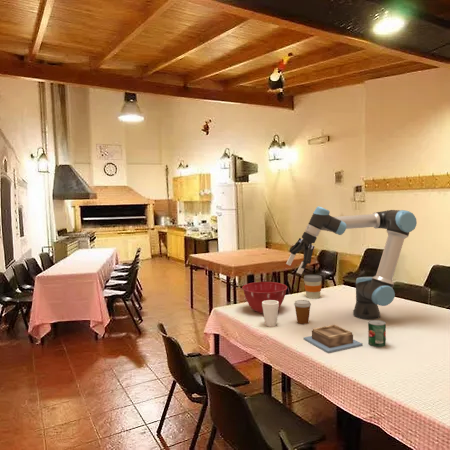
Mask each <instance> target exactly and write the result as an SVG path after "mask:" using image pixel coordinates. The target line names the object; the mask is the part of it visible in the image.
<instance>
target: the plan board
mask: <svg viewBox="0 0 450 450" xmlns="http://www.w3.org/2000/svg"><path fill="white" fill-rule="evenodd" d="M303 340H304V341H306V342H307V343H308V344H310V345H312V346H315V347H316V348H318V349H320V350H322V351H324V352H325V353H326V354H331V353H335V352H340V351H345V350H348V349H354V348H358V347H363V346H364V345H363V343H362V342H360V341H358V340H355V339H354V338H353V343H350V344H345V345H340V346H336V347H331V348H329V347H327V346H325V345H323V344H321V343H320V342H318V341H316V340H314V339H312V335H310V336H304V337H303Z"/></svg>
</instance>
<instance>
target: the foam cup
mask: <svg viewBox="0 0 450 450" xmlns="http://www.w3.org/2000/svg"><path fill="white" fill-rule="evenodd" d="M262 307H263V313H262V314H263V317H264V324H265V326H266V327H270V328H271V327H277V323H278V313H279V309H278V307H279V302H278V301H275V300H266V301H263V302H262ZM279 308H280V307H279Z"/></svg>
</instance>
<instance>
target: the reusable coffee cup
mask: <svg viewBox="0 0 450 450" xmlns="http://www.w3.org/2000/svg"><path fill="white" fill-rule="evenodd" d="M303 281H304V284H303V285H304V291H305V295H306V298H307V299H310V300H318V299H320V297H321V291H322V286H323V285H322V281H323V279H322V275H318V274H306V275H304V276H303Z"/></svg>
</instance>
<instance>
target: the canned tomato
mask: <svg viewBox="0 0 450 450" xmlns="http://www.w3.org/2000/svg"><path fill="white" fill-rule="evenodd" d="M367 323H368V326H367V327H368V328H367V329H368V331H367V332H368V333H367V335H368V337H367V341H368V345H369V346H370V347H373V348H385V347H386V346H387V345H386V342H387V341H386V340H387V337H386V335H387V332H386V331H387V330H386V329H387V322H386V321H384V320H381V319H369V320H368V321H367Z"/></svg>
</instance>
